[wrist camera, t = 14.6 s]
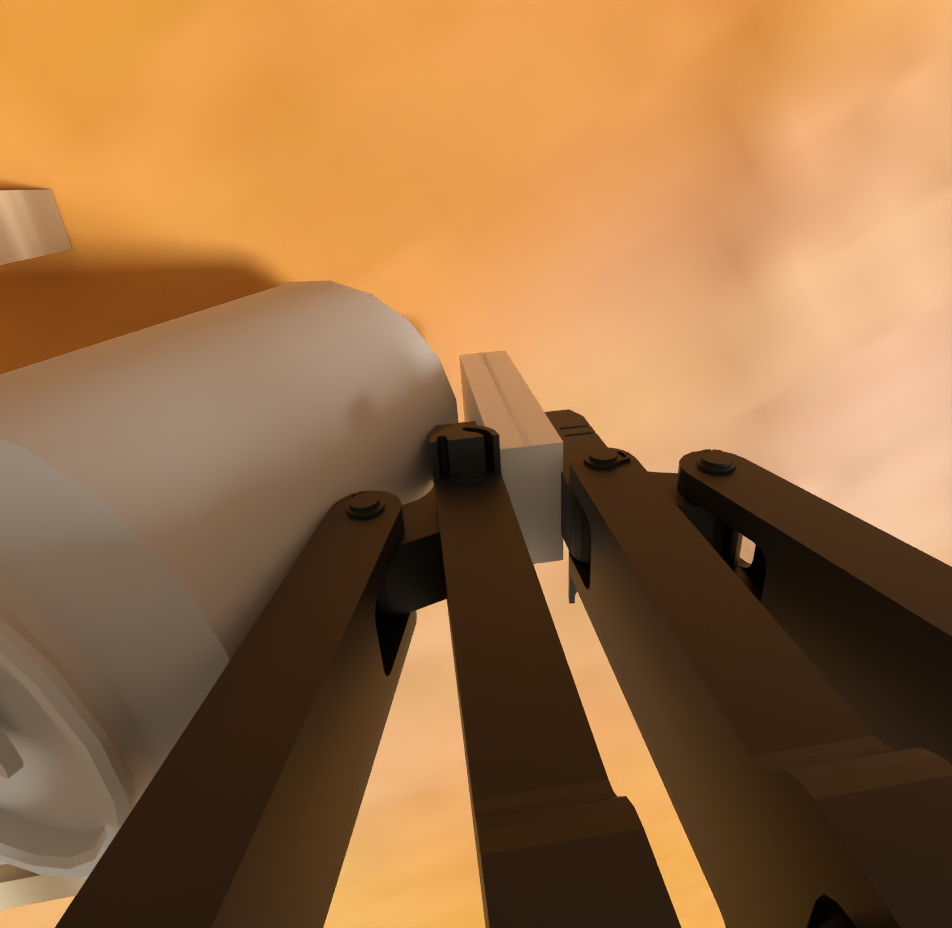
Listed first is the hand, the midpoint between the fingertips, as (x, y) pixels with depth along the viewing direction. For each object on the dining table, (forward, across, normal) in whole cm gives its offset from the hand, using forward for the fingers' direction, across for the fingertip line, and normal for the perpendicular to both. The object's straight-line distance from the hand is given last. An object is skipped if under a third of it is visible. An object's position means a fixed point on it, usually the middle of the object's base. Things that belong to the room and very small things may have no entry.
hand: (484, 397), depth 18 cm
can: (+1, +4, 0) cm, 4 cm away
